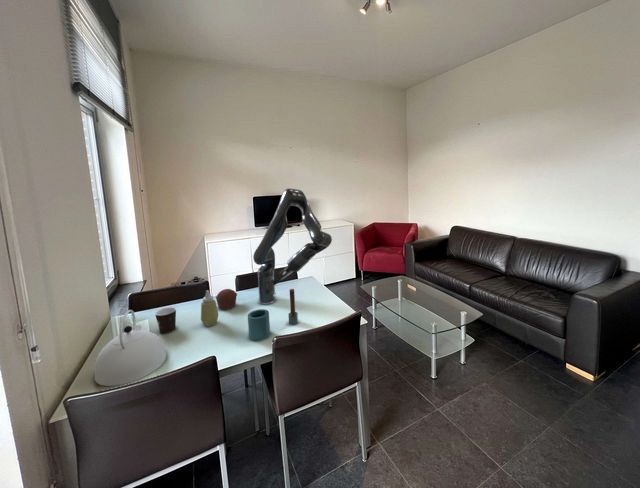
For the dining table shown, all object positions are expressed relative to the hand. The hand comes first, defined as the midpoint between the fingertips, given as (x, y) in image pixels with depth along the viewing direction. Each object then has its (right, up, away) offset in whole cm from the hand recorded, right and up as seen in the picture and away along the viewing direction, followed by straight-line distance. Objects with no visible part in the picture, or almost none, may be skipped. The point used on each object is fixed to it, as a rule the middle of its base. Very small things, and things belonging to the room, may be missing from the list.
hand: (277, 281), depth 152 cm
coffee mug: (-53, -24, -4) cm, 58 cm away
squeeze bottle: (-35, -23, +3) cm, 42 cm away
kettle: (-50, -28, -29) cm, 64 cm away
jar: (-6, -24, -9) cm, 26 cm away
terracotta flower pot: (-36, -20, +22) cm, 47 cm away
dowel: (+8, -22, +3) cm, 24 cm away
